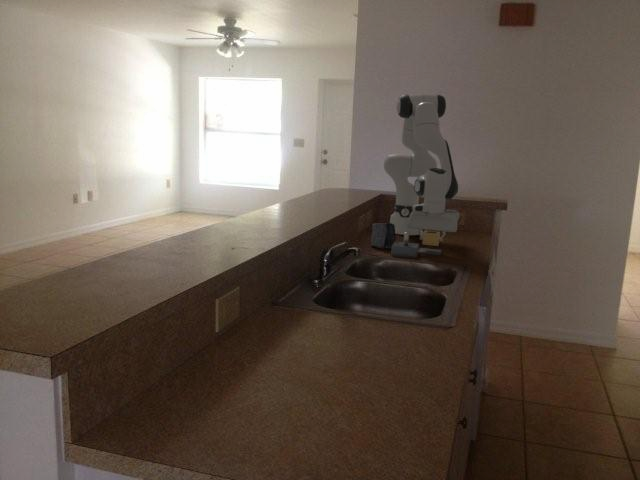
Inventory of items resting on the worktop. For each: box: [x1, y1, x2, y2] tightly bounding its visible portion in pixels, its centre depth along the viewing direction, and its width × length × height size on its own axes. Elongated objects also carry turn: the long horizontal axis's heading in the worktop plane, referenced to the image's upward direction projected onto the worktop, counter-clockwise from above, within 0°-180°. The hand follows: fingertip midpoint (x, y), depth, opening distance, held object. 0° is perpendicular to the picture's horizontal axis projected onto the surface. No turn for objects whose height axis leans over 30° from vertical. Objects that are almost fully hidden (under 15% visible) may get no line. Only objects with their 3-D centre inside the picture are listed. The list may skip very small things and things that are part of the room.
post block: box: [390, 232, 420, 259], centre depth 231 cm, size 10×10×9 cm
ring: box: [422, 230, 441, 247], centre depth 238 cm, size 6×6×5 cm
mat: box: [418, 247, 442, 256], centre depth 239 cm, size 9×9×1 cm
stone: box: [370, 222, 397, 250], centre depth 244 cm, size 12×10×10 cm
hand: (430, 240), depth 238 cm, fingers closed on ring, 6 cm apart
